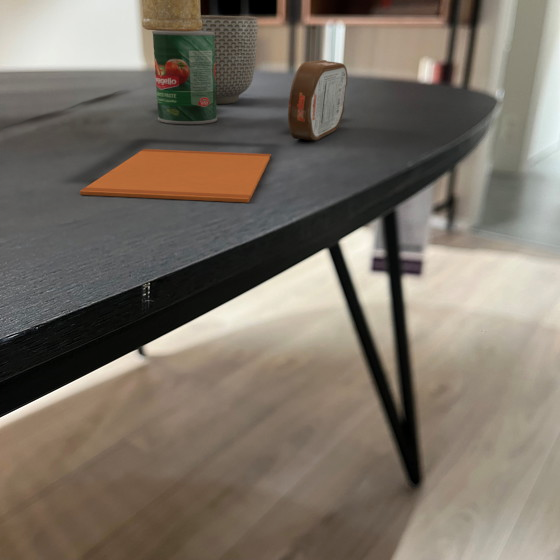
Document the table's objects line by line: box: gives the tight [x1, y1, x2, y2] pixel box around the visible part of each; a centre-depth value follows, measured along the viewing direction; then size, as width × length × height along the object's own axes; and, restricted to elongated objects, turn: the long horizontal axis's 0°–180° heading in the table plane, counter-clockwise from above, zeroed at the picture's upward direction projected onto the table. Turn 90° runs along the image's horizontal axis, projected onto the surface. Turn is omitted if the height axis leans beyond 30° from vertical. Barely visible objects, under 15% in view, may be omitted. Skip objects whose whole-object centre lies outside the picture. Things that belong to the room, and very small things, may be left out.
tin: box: [287, 59, 349, 142], centre depth 67 cm, size 15×3×8 cm, turn 159°
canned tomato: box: [151, 30, 218, 125], centre depth 75 cm, size 8×8×11 cm
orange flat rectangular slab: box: [79, 148, 272, 204], centre depth 50 cm, size 13×16×1 cm
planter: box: [198, 15, 259, 105], centre depth 93 cm, size 14×14×13 cm
